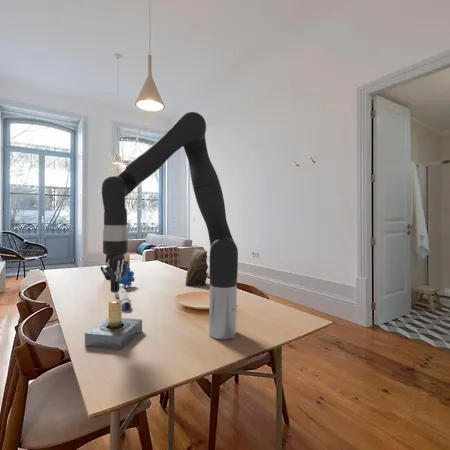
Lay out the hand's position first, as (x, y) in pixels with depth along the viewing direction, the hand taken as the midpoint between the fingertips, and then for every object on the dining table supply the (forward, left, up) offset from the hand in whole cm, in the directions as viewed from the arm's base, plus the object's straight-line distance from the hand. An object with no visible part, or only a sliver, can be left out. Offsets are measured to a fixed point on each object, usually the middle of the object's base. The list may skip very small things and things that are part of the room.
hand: (115, 291), depth 93 cm
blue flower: (+29, -58, -16) cm, 67 cm away
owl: (-6, -75, -16) cm, 77 cm away
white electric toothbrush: (+17, -35, -16) cm, 42 cm away
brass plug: (0, 0, -15) cm, 15 cm away
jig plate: (0, 0, -15) cm, 15 cm away
